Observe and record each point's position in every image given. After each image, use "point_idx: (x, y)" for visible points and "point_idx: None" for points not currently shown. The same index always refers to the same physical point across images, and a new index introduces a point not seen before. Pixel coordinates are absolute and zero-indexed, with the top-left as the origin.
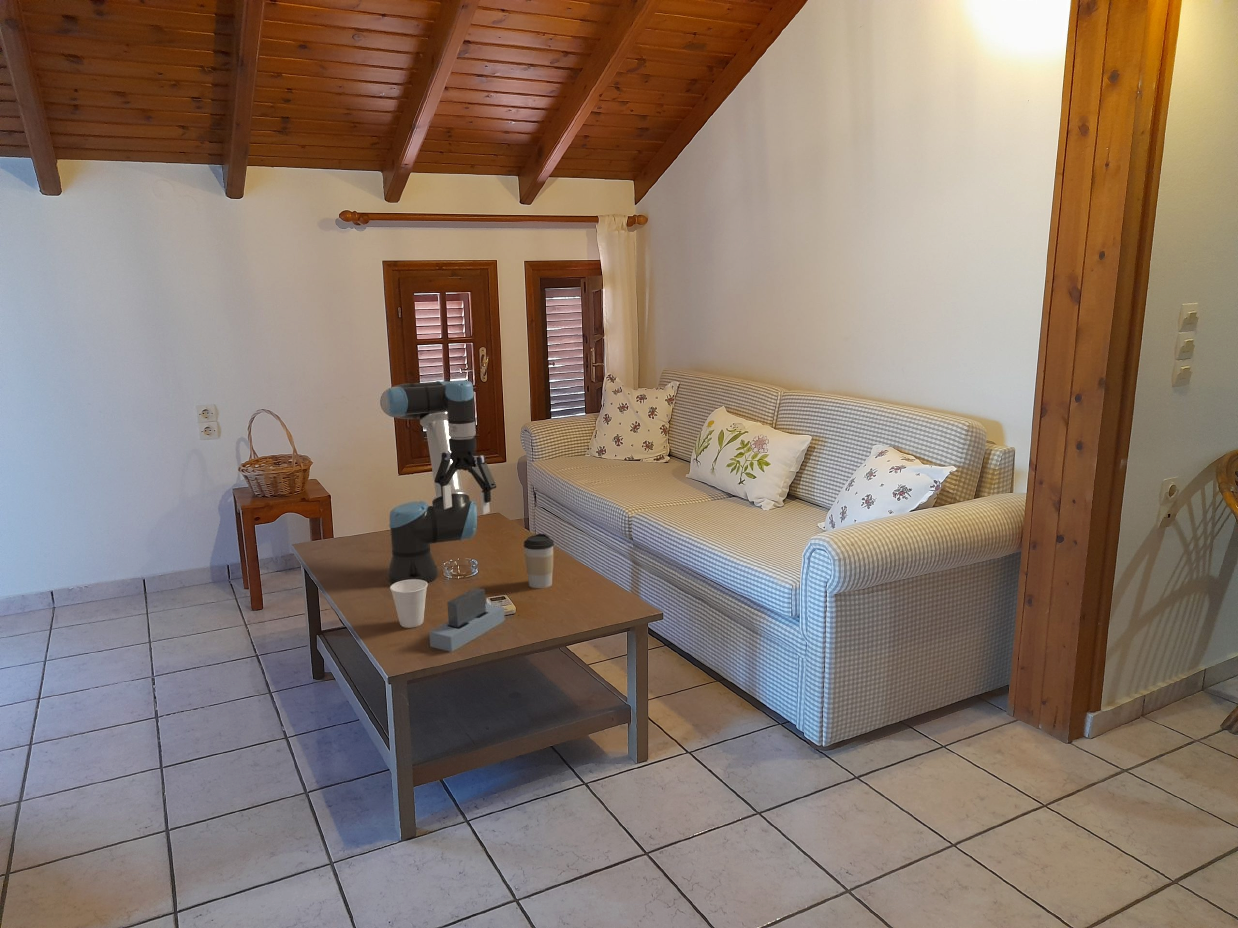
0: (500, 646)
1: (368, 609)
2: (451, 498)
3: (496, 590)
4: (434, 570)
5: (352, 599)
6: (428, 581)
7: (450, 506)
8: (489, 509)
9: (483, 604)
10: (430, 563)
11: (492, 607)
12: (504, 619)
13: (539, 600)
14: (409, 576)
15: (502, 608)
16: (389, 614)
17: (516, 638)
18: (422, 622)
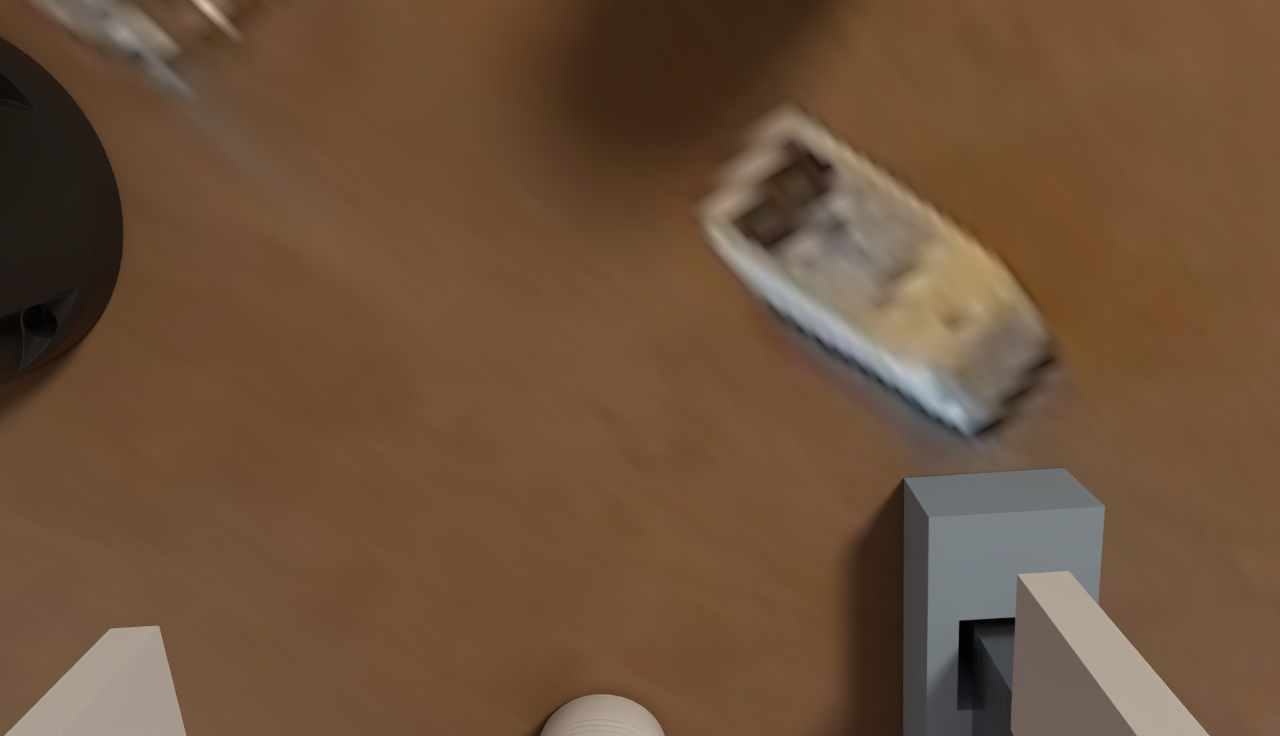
0: (1238, 721)
1: (224, 723)
2: (66, 733)
3: (667, 76)
4: (54, 144)
5: (4, 671)
6: (120, 225)
7: (164, 675)
8: (1090, 599)
9: None
10: (4, 177)
11: (1035, 546)
12: (1067, 472)
13: (1080, 68)
14: (21, 343)
15: (1101, 520)
16: (387, 715)
17: (1266, 612)
18: (661, 729)
